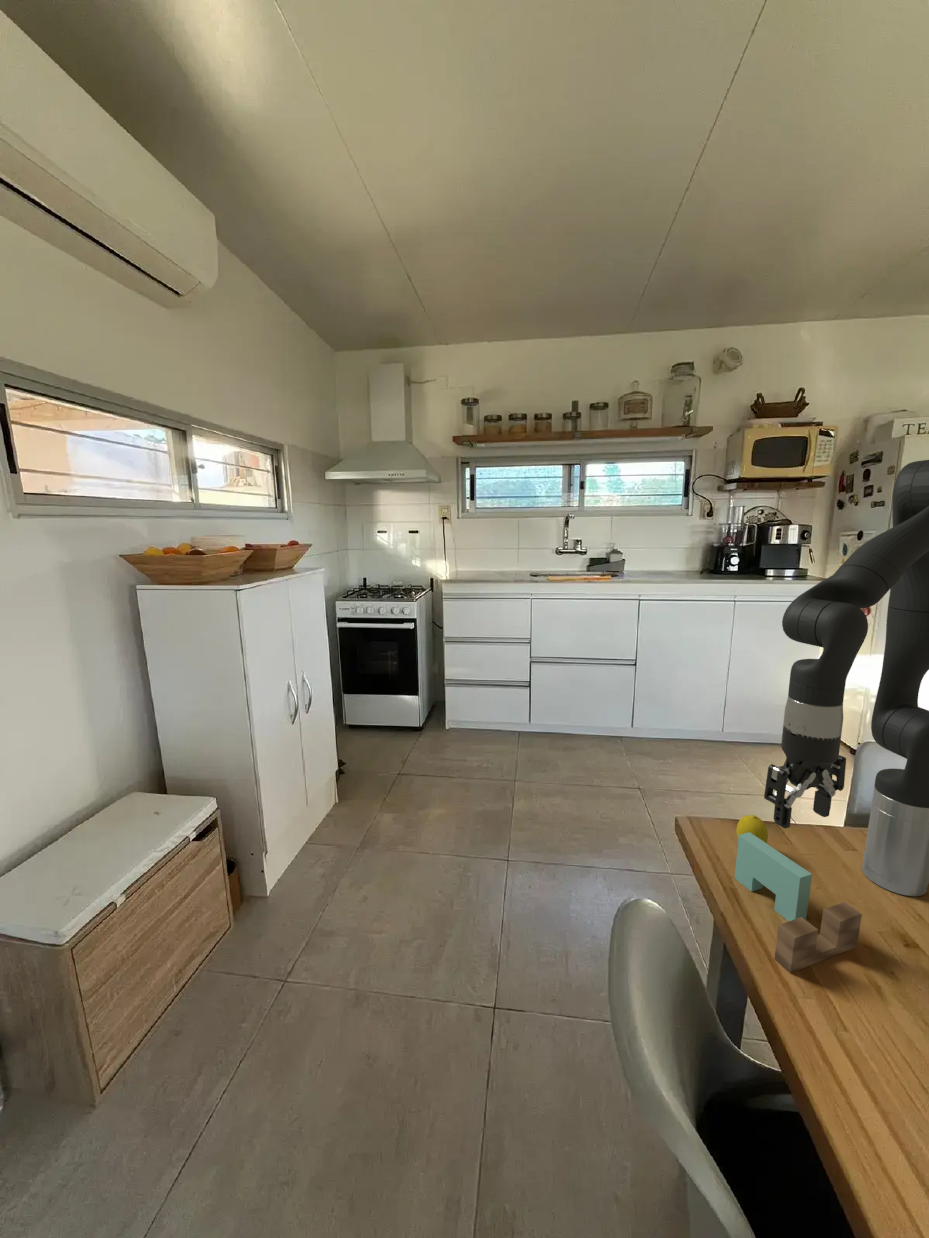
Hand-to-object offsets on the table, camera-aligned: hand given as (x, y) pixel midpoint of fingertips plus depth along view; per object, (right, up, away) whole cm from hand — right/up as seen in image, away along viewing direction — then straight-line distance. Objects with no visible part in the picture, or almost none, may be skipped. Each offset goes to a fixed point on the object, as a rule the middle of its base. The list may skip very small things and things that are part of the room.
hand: (801, 819), depth 81 cm
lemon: (+3, -15, +20) cm, 25 cm away
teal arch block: (-1, -17, +7) cm, 18 cm away
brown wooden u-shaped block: (0, -19, -4) cm, 19 cm away
